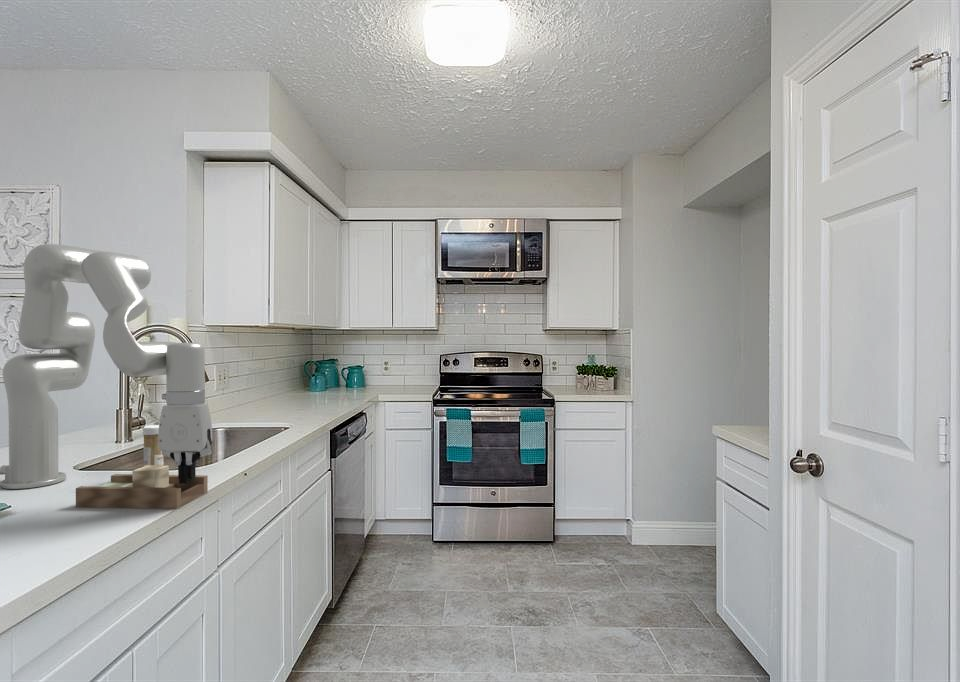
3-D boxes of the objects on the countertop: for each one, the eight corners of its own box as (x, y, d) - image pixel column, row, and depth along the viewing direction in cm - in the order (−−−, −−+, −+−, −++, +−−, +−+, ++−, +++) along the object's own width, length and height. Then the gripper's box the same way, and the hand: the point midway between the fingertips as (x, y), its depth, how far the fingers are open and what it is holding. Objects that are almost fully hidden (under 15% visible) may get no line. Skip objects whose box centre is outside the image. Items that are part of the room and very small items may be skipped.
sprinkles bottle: (164, 479, 141) (164, 426, 141) (143, 482, 138) (143, 428, 138) (163, 476, 145) (163, 424, 144) (142, 478, 142) (142, 425, 142)
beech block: (132, 491, 121) (132, 470, 121) (147, 485, 126) (147, 465, 126) (154, 491, 121) (154, 471, 121) (168, 485, 126) (168, 465, 126)
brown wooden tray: (75, 507, 119) (75, 488, 118) (115, 491, 131) (115, 474, 130) (176, 508, 117) (176, 489, 117) (207, 492, 129) (207, 475, 129)
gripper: (142, 400, 120) (143, 486, 120) (210, 400, 119) (211, 487, 119) (163, 397, 127) (164, 477, 128) (227, 396, 127) (228, 478, 127)
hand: (187, 481), depth 123 cm, fingers closed
